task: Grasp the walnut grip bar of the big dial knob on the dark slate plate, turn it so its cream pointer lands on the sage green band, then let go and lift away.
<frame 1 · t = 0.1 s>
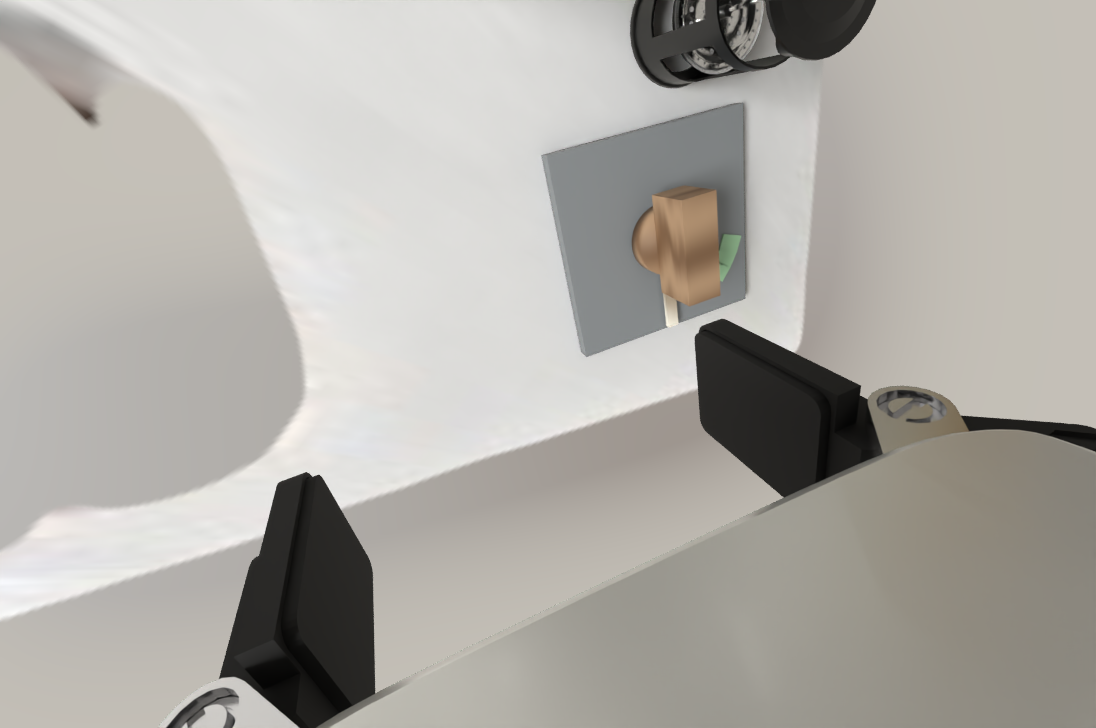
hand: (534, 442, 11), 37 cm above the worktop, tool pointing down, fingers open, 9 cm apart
french press: (678, 26, 44), on the worktop
dial plate: (652, 234, 51), on the worktop
knob: (682, 268, 48), point 5 cm above the worktop, hinge at 0.0°
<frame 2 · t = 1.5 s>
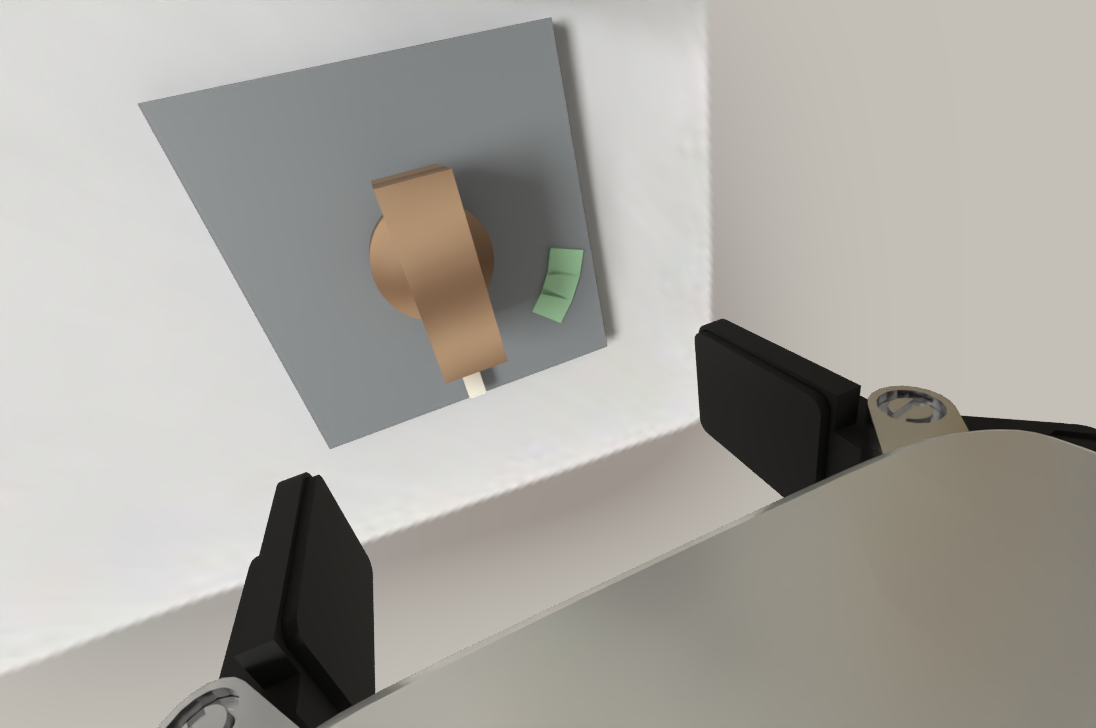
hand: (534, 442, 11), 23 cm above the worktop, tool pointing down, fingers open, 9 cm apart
dial plate: (426, 249, 31), on the worktop
knob: (452, 310, 27), point 5 cm above the worktop, hinge at 0.0°
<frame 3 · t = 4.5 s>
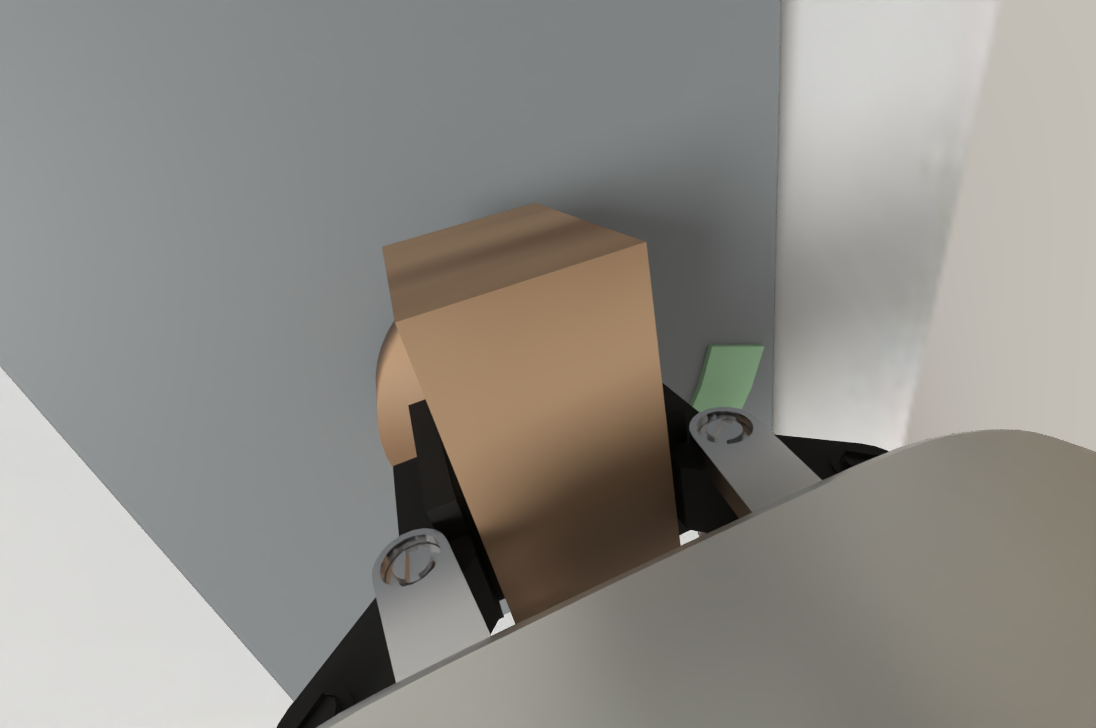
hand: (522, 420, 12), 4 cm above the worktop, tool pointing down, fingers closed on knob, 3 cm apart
dial plate: (484, 355, 16), on the worktop
knob: (553, 511, 13), point 5 cm above the worktop, hinge at 0.1°, touching gripper
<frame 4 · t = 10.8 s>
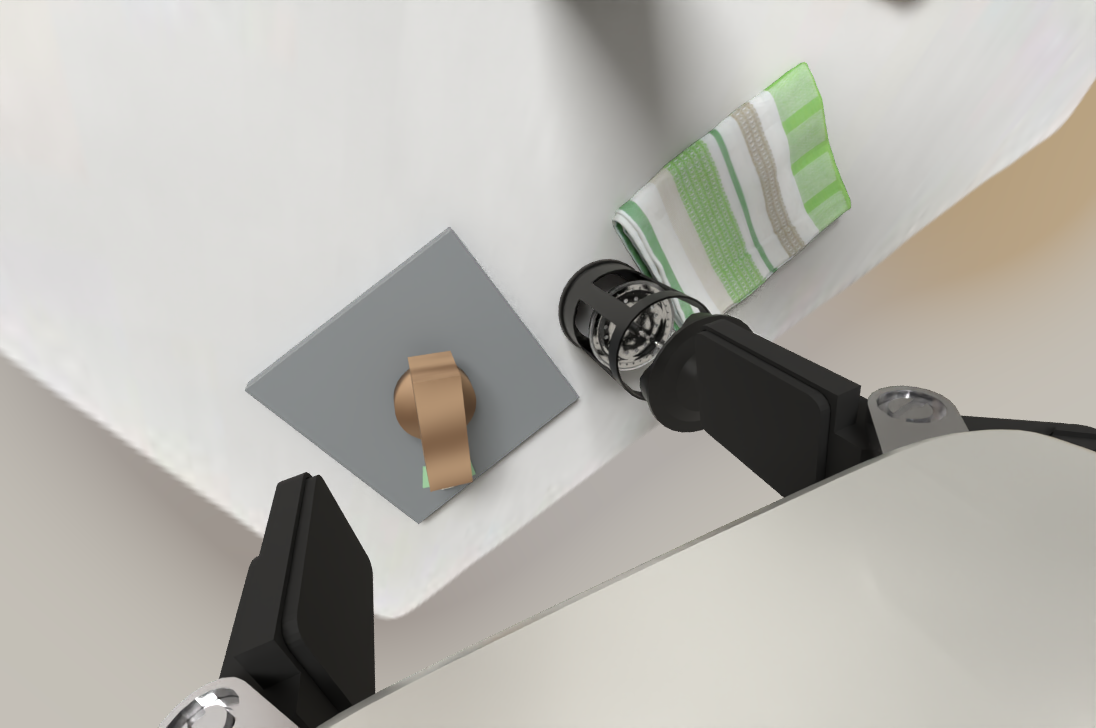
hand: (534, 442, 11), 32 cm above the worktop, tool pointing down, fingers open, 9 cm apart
french press: (604, 308, 48), on the worktop
dial plate: (431, 387, 45), on the worktop
knob: (442, 439, 42), point 5 cm above the worktop, hinge at 57.9°
dish towel: (729, 210, 49), on the worktop
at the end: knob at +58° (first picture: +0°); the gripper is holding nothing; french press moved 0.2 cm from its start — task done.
